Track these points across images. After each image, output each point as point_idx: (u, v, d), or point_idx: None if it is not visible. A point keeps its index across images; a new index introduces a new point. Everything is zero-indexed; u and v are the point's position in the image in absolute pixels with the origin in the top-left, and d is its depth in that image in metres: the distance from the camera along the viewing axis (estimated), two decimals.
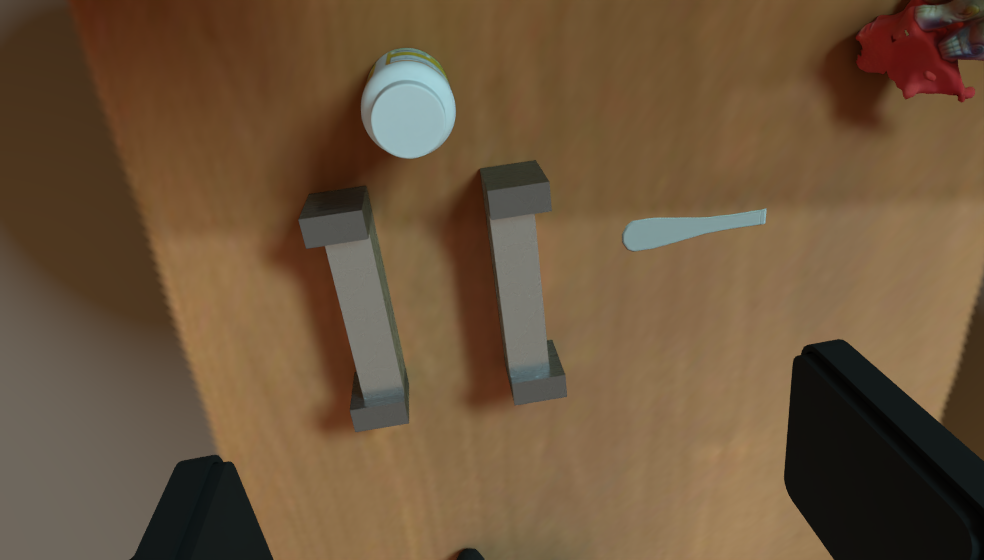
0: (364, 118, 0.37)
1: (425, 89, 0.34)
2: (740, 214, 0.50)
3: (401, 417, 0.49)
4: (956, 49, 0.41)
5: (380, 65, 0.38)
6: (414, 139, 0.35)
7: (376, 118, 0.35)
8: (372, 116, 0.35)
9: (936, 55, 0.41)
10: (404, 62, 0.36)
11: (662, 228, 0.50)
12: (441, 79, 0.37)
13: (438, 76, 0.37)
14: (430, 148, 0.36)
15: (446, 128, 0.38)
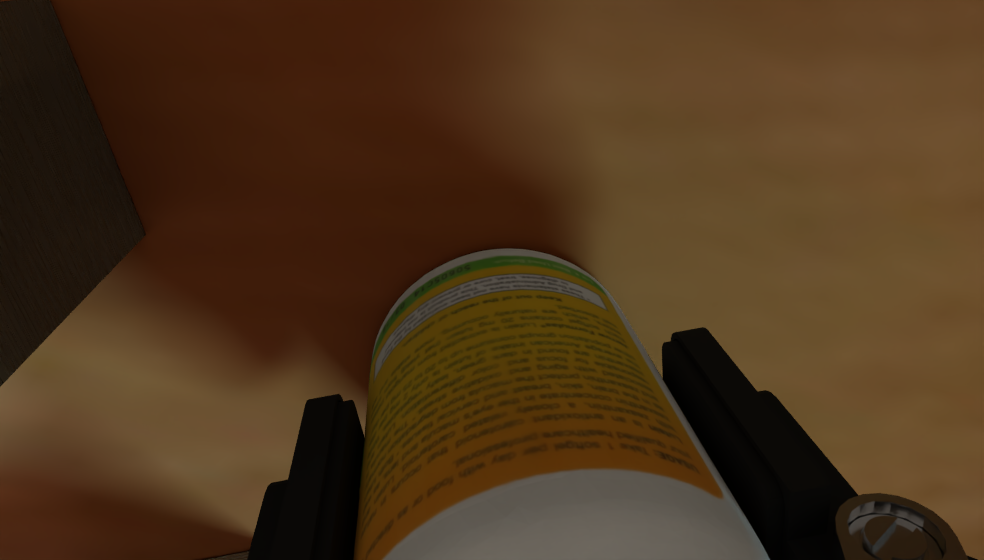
0: (565, 553, 0.06)
1: None
2: None
3: None
4: None
5: (698, 439, 0.09)
6: None
7: None
8: None
9: None
10: None
11: None
12: None
13: None
14: None
15: None
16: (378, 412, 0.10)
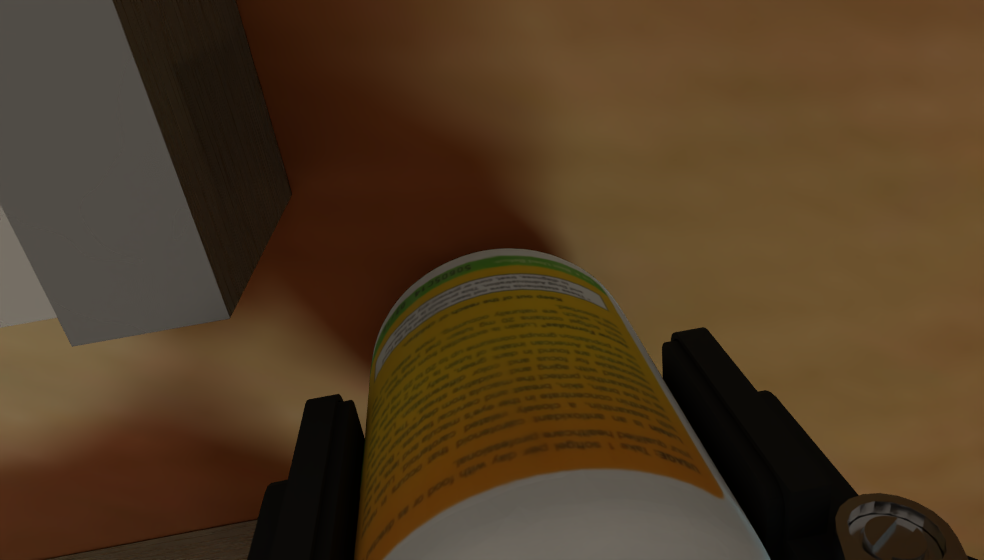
0: (565, 553, 0.06)
1: None
2: None
3: None
4: None
5: (699, 440, 0.09)
6: None
7: None
8: None
9: None
10: None
11: None
12: None
13: None
14: None
15: None
16: (379, 412, 0.10)
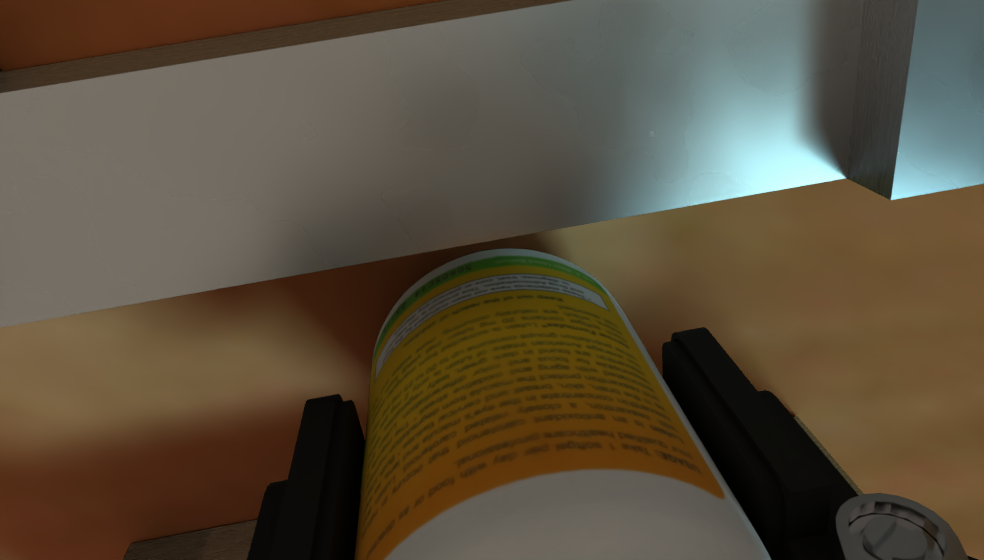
0: (566, 553, 0.06)
1: None
2: None
3: None
4: None
5: (700, 440, 0.09)
6: None
7: None
8: None
9: None
10: None
11: None
12: None
13: None
14: None
15: None
16: (379, 412, 0.10)
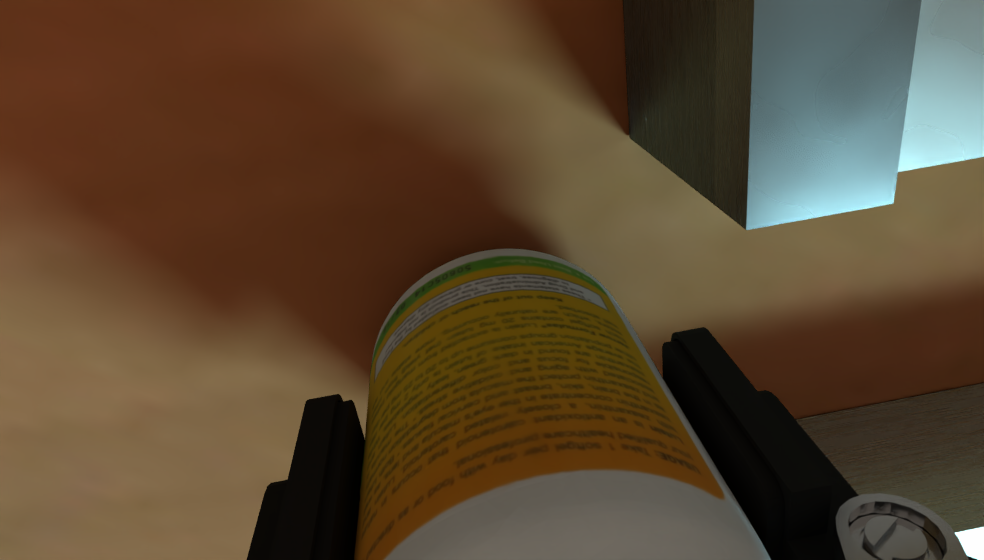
0: (566, 554, 0.06)
1: None
2: None
3: (795, 189, 0.08)
4: None
5: (699, 440, 0.09)
6: None
7: None
8: None
9: None
10: None
11: None
12: None
13: None
14: None
15: None
16: (378, 412, 0.10)
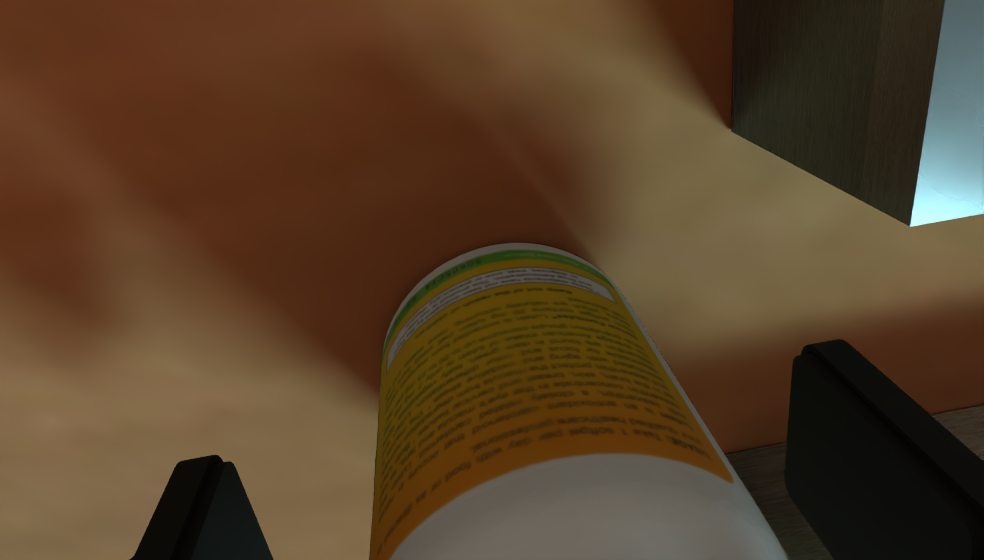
0: (582, 533, 0.07)
1: None
2: None
3: (966, 183, 0.08)
4: None
5: (707, 428, 0.09)
6: None
7: None
8: None
9: None
10: None
11: None
12: None
13: None
14: None
15: None
16: (392, 402, 0.10)
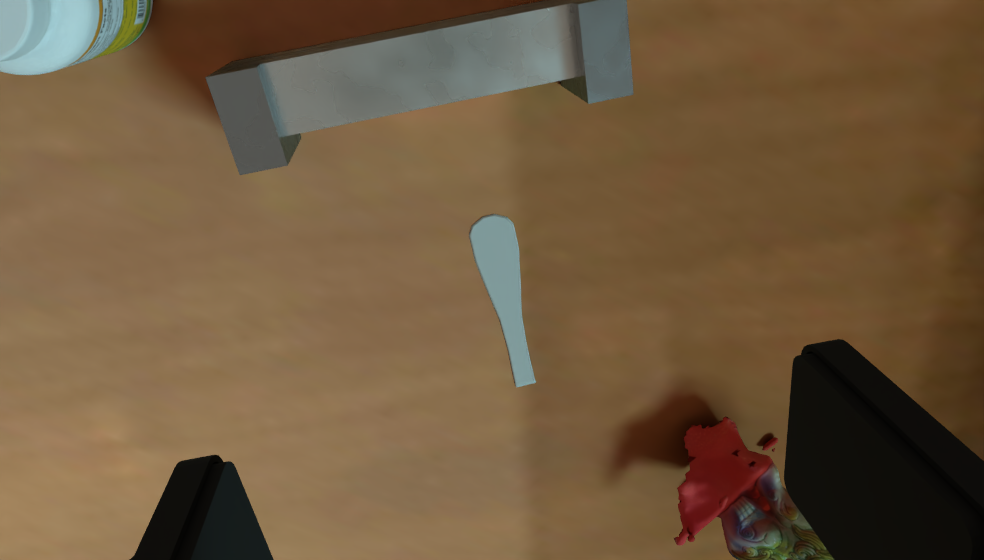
0: None
1: (29, 26, 0.20)
2: (527, 355, 0.39)
3: None
4: (744, 514, 0.40)
5: None
6: None
7: None
8: None
9: (732, 499, 0.40)
10: None
11: (505, 265, 0.36)
12: (77, 49, 0.23)
13: (80, 44, 0.23)
14: None
15: None
16: None
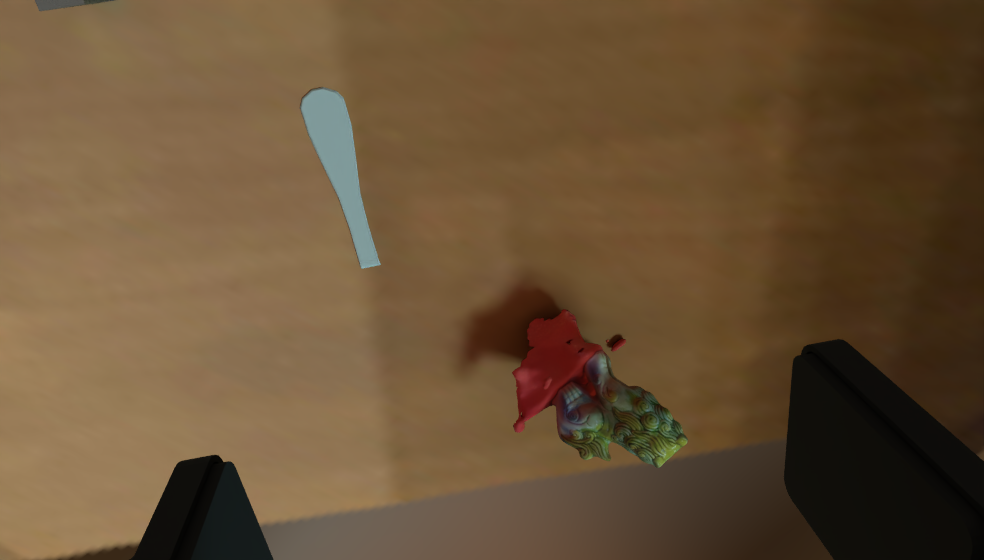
0: None
1: None
2: (369, 236, 0.41)
3: None
4: (570, 398, 0.41)
5: None
6: None
7: None
8: None
9: (561, 383, 0.41)
10: None
11: (338, 141, 0.38)
12: None
13: None
14: None
15: None
16: None
